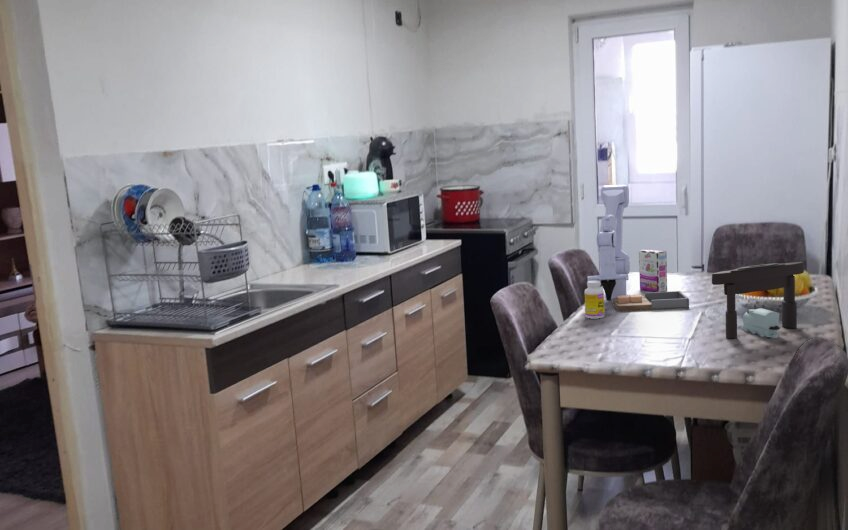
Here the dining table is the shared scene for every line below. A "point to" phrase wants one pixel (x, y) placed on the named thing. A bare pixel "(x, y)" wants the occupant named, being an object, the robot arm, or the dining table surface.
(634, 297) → the tile
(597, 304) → the supplement bottle
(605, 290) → the robot arm
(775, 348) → the dining table surface
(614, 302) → the board
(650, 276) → the candy bar box
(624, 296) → the tile
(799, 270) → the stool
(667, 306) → the tray
